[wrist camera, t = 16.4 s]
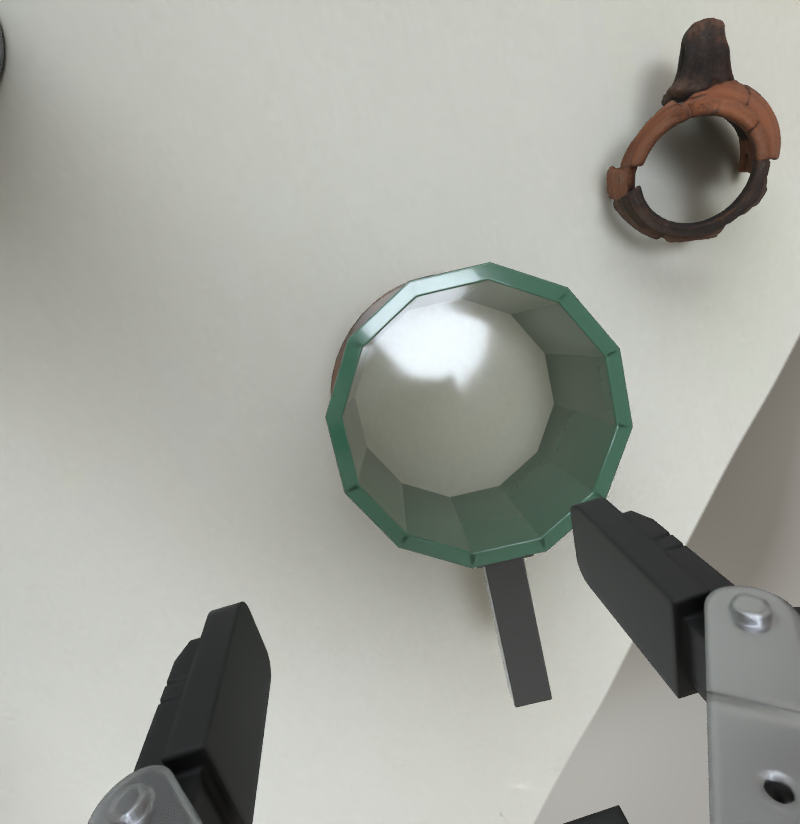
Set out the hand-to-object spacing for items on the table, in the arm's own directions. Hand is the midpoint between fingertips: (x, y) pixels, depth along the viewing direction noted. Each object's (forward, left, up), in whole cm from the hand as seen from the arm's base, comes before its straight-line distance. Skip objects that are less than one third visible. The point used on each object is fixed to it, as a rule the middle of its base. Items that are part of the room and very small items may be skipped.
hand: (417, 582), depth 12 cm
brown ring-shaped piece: (+23, +12, -24) cm, 35 cm away
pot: (+4, -4, -22) cm, 23 cm away
